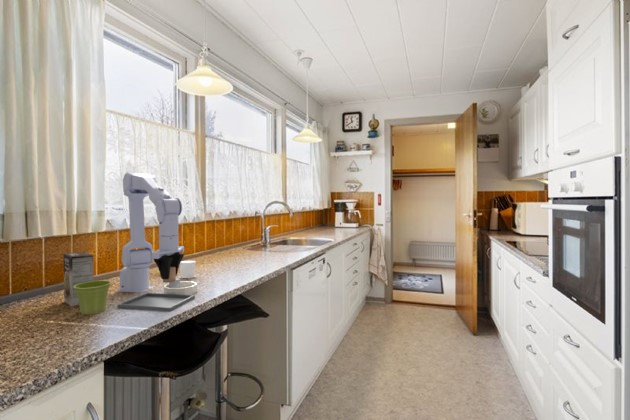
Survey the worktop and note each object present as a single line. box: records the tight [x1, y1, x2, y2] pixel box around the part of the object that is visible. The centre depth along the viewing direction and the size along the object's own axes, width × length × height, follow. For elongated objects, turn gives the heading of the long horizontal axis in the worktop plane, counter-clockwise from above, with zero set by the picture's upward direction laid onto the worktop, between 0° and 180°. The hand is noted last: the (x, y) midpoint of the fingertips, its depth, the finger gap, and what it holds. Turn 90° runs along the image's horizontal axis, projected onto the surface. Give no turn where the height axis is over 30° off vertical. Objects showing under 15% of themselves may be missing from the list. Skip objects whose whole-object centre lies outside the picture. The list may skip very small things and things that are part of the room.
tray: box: [117, 292, 196, 312], centre depth 110 cm, size 18×14×2 cm
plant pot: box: [73, 279, 112, 315], centre depth 101 cm, size 9×9×9 cm
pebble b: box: [162, 266, 177, 283], centre depth 109 cm, size 4×4×4 cm
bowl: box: [163, 280, 198, 295], centre depth 122 cm, size 11×11×3 cm
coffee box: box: [63, 251, 94, 308], centre depth 111 cm, size 9×6×16 cm
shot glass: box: [179, 259, 197, 279], centre depth 149 cm, size 7×7×7 cm
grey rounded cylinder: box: [168, 277, 181, 288], centre depth 123 cm, size 4×4×4 cm
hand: (169, 277), depth 109 cm, fingers closed on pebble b, 4 cm apart
